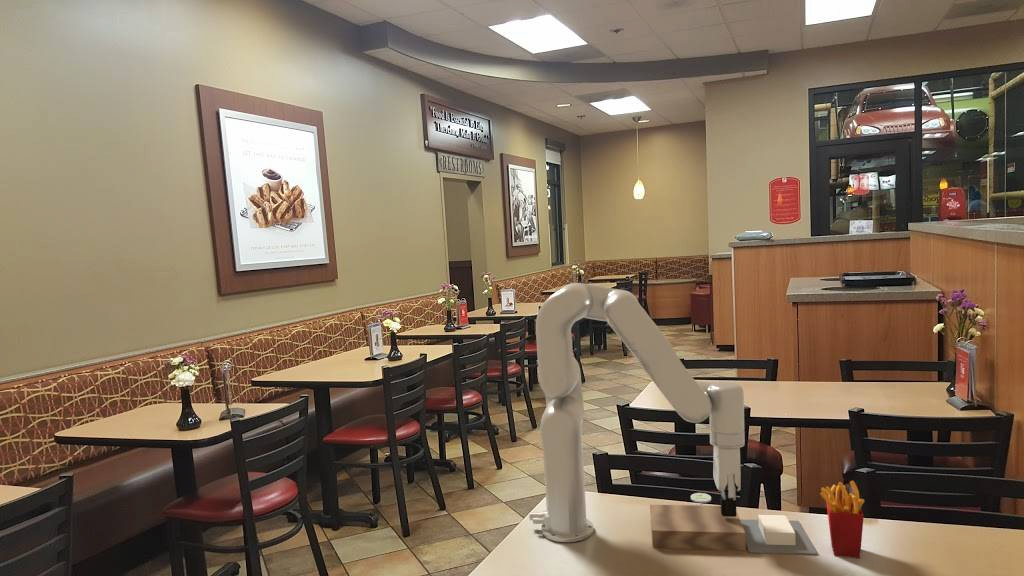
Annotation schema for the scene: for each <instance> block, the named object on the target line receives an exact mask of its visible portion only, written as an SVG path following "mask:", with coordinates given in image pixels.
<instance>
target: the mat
mask: <svg viewBox="0 0 1024 576" xmlns="http://www.w3.org/2000/svg"><path fill="white" fill-rule="evenodd" d="M740 521H741V524H742V526H743V529H744V531H745V544H746V549H747V552H748V553H749V554H774V555H776V554H777V555H804V556H805V555H807V556H808V555H809V556H811V555H812V556H818V555H819V554H818V551H817V550H816V549H815V547H814V545H813V543H812V542H811V540H810V538H809V537H808V535H807V533H806V531H805V530H804V528H803V527H802V524H801V523H800V521H799V520H789V519H788V521H789V523H790V525H791V526H792V528H793V530H794V532H795V542H796V545H768V544H766V541H765V539H764V537H763V535H762V533H761V530H760V528H759V520H758V519H743V518H742V519H741V518H740Z"/></svg>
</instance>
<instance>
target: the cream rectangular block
mask: <svg viewBox="0 0 1024 576" xmlns="http://www.w3.org/2000/svg"><path fill="white" fill-rule="evenodd" d="M757 516H758V517H757V518H758V519H757V520H759V528H760V530H761V533H762V535H763V537H764V539H765V541H766V544H768V545H796V542H795V532H794V530H793V528H792V526H791V525H790V523H789V521H790V520H789V519H788V517H787V516H786V515H785V514H784V515H783V514H782V515H781V514H779V515H778V514H758V515H757ZM788 520H789V521H788Z"/></svg>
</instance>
